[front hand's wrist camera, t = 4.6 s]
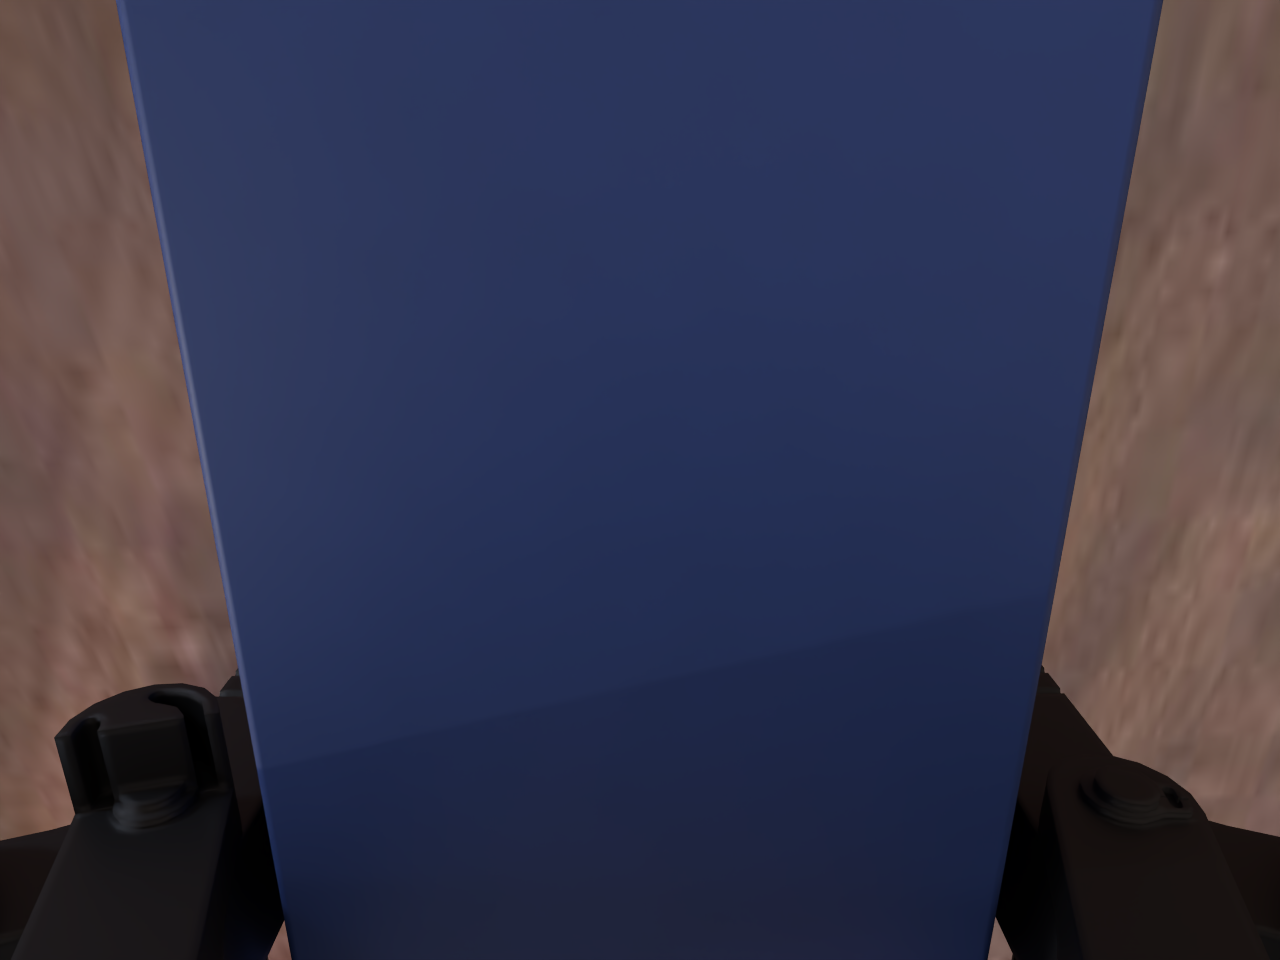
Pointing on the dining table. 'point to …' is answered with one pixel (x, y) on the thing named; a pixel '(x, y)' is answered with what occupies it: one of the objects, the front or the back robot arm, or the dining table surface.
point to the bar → (639, 447)
